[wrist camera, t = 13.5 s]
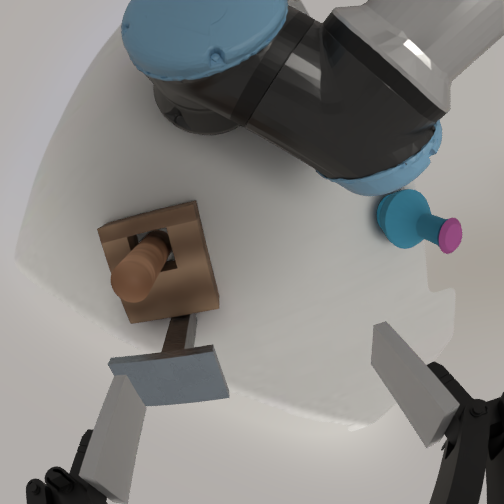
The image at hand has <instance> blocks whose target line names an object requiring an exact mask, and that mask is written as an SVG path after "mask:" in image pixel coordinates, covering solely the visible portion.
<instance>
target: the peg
mask: <svg viewBox="0 0 504 504" xmlns="http://www.w3.org/2000/svg"><path fill="white" fill-rule="evenodd" d="M171 251H172V247H171V243H170V239H169V236H168V234H167V233H166V232H164V231H161V230H154V231H152V232H150V233H149V234H148V235H147V236H146V237H145V238H144V239H143V240H142V241H141V242H140V243H139V244H138V245H137V246H136V247H135V248H134V249H133V250H132V251H131V252H130V253H129V254H128V255H127V256H126V257H125V258H124V259H123V260H122V261H121V262H120V263H119V264H118V265H117V266H116V267H115V268H114V270H113V272H112V274H111V285H112V288H113V290H114V292H115V293H116V294H117V296H119V297H120V298H121V299H123V300H124V301H127V302H132V303H136V302H140V301H142V300H144V299H145V298H146V297H147V296H148V294H149V292H150V290H151V288H152V286H153V284H154V283H155V281H156V279H157V277H158V275H159V273H160V271H161V269H162V268H163V266H164V264H165V262H166V260H167V259H168V257H169V255H170V253H171Z"/></svg>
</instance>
